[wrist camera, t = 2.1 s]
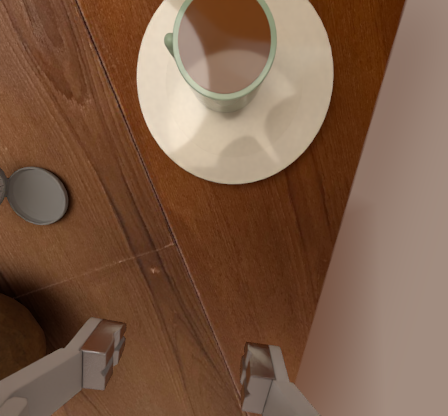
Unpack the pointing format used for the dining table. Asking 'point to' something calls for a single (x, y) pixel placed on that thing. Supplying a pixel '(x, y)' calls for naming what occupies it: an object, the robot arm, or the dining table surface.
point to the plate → (248, 116)
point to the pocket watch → (34, 195)
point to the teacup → (223, 50)
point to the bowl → (18, 337)
